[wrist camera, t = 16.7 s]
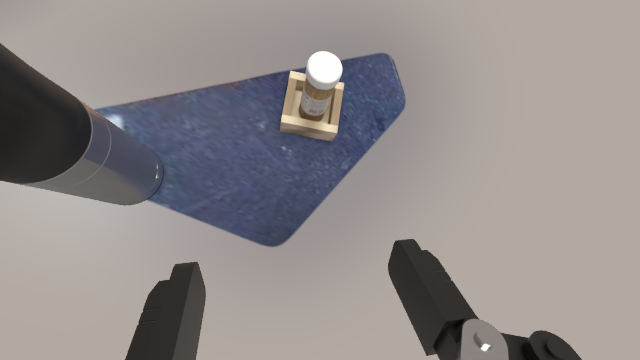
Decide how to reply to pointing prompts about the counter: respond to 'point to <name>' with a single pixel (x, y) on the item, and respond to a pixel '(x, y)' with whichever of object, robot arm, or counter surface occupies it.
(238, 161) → the counter surface
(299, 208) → the counter surface
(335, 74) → the sprinkles bottle
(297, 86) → the socket block
